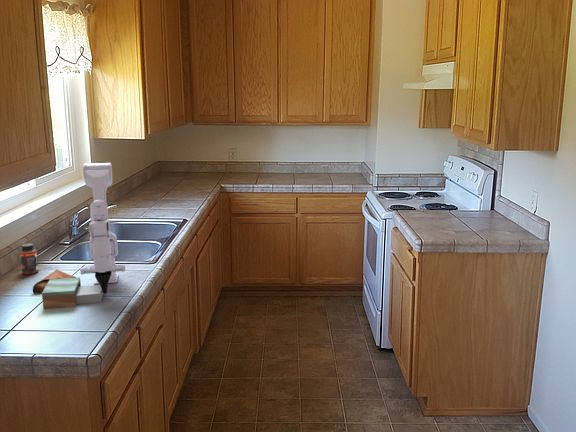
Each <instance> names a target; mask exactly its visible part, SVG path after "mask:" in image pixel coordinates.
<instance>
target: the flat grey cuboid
mask: <svg viewBox="0 0 576 432" xmlns="http://www.w3.org/2000/svg"><path fill="white" fill-rule="evenodd" d="M104 294H105V293H103V292H102V288H101V286H100V284H93V285H92V284H91V285H90V284H89V285H81V286H78V287H77V289H76V291H75V297H76V305H80V304H81V305H82V304H93V303H102V300H103V297H104Z"/></svg>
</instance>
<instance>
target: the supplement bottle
mask: <svg viewBox="0 0 576 432" xmlns="http://www.w3.org/2000/svg"><path fill="white" fill-rule="evenodd" d="M19 256H20V266H21V272H22V274H24V275H33V274H37V273H38V272H39V262H38V254H37V248H36V249H35V248H34V244H33V243H31V242H30V243H28V242H27V243H25V244H24V243H23V244H22V245H21V250H20V251H19Z"/></svg>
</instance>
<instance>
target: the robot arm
mask: <svg viewBox="0 0 576 432" xmlns="http://www.w3.org/2000/svg"><path fill="white" fill-rule="evenodd" d="M112 166H113V165H112V163H111V162H103V163H98V162H97V163H84V164H83V165H82V174H83V180H84V183H85V185H86V187H89V188H91V190H92V198H93V202H91V203H90V206H89V210H90V214H89V215H90V222H89V224H88V228H89V229H88V231H89V236H90V237H89V244H88V246H89V256H90V257H91V258H93V265H91V266H84V267H80V270H79V271H80V275H85V274H94V277H95V279H94V282H93V285H100V286H101V288H102V292H103V293H104V294H107V293H108V285H109V284H115V283H117V282H118V279H119V273H118V272H122V273H123V272H124V273H125V272H126V264H116V257H117V256H118V255H119V247H118V240H117V239H118V238H117V235H116V234H115V233H113V232H112V231H111V223H110V219H109V208H108V207H109V205H108V203H107V190H108V187H110V186H112V184H113V167H112Z"/></svg>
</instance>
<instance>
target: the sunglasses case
mask: <svg viewBox="0 0 576 432" xmlns="http://www.w3.org/2000/svg"><path fill="white" fill-rule="evenodd" d="M63 278H77V276H73V275H71V274H69V273H66V272H64V271H61V270H59V269H58V268H57V269H56V270H55V271H53V272H51V273H50V274H48V275H46V276H45V277H44V278H41V280H39V281H37V282H36V283H35V284H34V285H33V287H32V293H34V294H42V292H43V290H44V289H45V287H46V285H47V283H48V282H49V280H50V279H63Z"/></svg>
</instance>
